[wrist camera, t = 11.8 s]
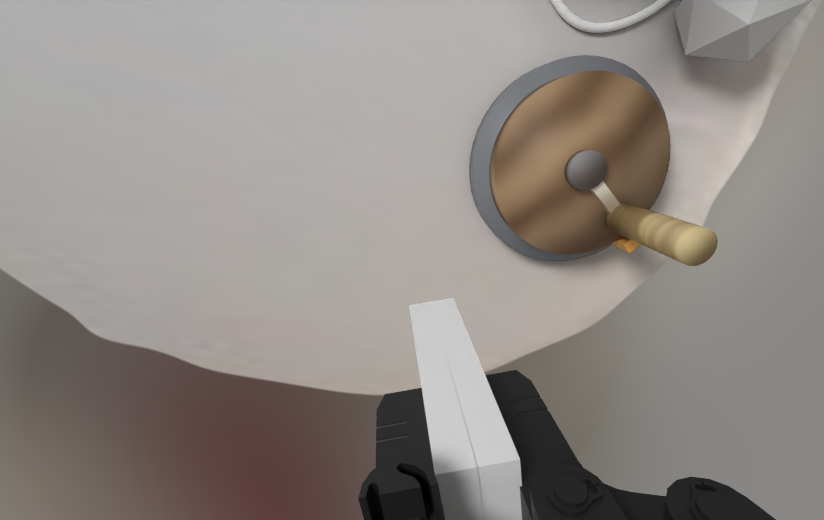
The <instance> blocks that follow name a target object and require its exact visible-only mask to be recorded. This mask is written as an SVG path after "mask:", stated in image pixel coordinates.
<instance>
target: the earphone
mask: <svg viewBox="0 0 824 520" xmlns="http://www.w3.org/2000/svg"><path fill="white" fill-rule="evenodd" d="M670 1H671V0H657V1H656V2H655V3H653V4H652V5H650V6H649V7H647V8H645V9H643V10H642V11H640V12H638V13H636V14H633V15H631V16H629V17H626V18H624V19H621V20H617V21H613V22H608V23H593V22H588V21H585V20H583V19H581V18H579V17H577V16H576V15H574V14H573V13H572V12H571V11H570V10H569V9H568V8H567V6H566V5H565V4H564V2H563V1H562V0H551V2H552V4H553V6H554V8H555V9H556V11H557V12H558V13H559V15H560V16H561V17H562V18H563V19H564V20H565V21H566V22H567V23H569V24H570V25H572V26H573V27H575V28H577V29H579V30H582V31H586V32H592V33H604V32H611V31H615V30H619V29H622V28H625V27H628V26H630V25H633V24H635V23H637V22H639V21H641V20H643V19H645V18H647V17H649V16H650V15H652V14H654V13H655V12H657V11H658V10H660V9H661V8H662V7H664V6H665V5H666V4H667V3H668V2H670Z"/></svg>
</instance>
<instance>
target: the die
mask: <svg viewBox="0 0 824 520" xmlns="http://www.w3.org/2000/svg"><path fill="white" fill-rule="evenodd" d="M810 1H811V0H682V1H681V3H680V4H679V5H678V7H677V8H676V9H675V10H674V15H675V18H676V22H677V26H678V30H679V34H680V37H681V41H682V45H683V49H684V52H685V55H690V56H699V57H708V58H717V59H726V60H736V61H745V62H749V61H750V60H751V59H752V58H753V57H754V56H755V55H756V54H757V53H758V52H759V51H760V50H761V49H762V48H763V47H764V46H765V45H767V44H768V43H769V42H770V41H771V40H772V39H773V38H774V37H775V36H776V35H777V34H778V33H779V32H780V31H781V30H782V29H783V28H784V27H785V26H786V25H787V24H788V23H789V22H790V21H791V20H792V19H793V18H794V17H795V16H796V15H797V14H798V13H799V12H800V11H801V10H802V9H803V8H804V7H805V6H806V5H807V4H808V3H809V2H810Z"/></svg>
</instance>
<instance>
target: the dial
mask: <svg viewBox="0 0 824 520" xmlns="http://www.w3.org/2000/svg"><path fill="white" fill-rule="evenodd" d="M669 160H670V135H669V130H668V126H667V122H666V119H665V117H664V114H663V112H662V110H661V108H660V106H659V104H658V103H657V101H656V100H655V99H654V97H653V96H652V95H651V93H649V92H648V91H647V90H646V89H645V88H644V87H643V86H642V85H640V84H639V83H637V82H636V81H634V80H633V79H631V78H629V77H626V76H624V75H622V74H618V73H614V72H610V71H601V70H596V71H584V72H578V73H574V74H570V75H566V76H563V77H560V78H557V79H554V80H552V81H550V82H548V83H546V84H544V85H541V86H540V87H538V88H537V89H535V90H534V91H532V92H531V93H530V94H529V95H527V96H526V97H525V98H524V99H523V100H522V101H521V102H520V103H519V104H518V105H517V106H516V107H515V108H514V109H513V110H512V112H511V113H510V115H509V116H508V117H507V119H506V120H505V122H504V124H503V125H502V127H501V129H500V131H499V133H498V136H497V138H496V140H495V143H494V146H493V150H492V154H491V160H490V166H489V180H490V189H491V193H492V198H493V201H494V203H495V206H496V208H497V210H498V212H499V214H500V216H501V217H502V219H503V220H504V222H505V223H506V224H507V225H508V227H510V228H511V229H512V230H513V231H514V232H515V233H516V234H517V235H518V236H520V237H521V238H522V239H524V240H525V241H526V242H528V243H529V244H531V245H533V246H535V247H537V248H539V249H541V250H544V251H547V252H551V253H557V254H581V253H586V252H591V251H594V250H597V249H600V248H603V247H605V246H607V245H609V244H611V243H613V242H615V241H616V240H618V239H620V238H621V237H623V236H624V237H626V238H629V239H631V240H633V241H635V242H637V243H640V244H642V245H644V246H646V247H648V248H651V249H653V250H655V251H657V252H659V253H662V254H664V255H666V256H668V257H670V258H673V259H675V260H677V261H679V262H681V263H684V264H686V265H689V266H697V265H700V264H702V263H704V262H706V261H707V260H708V259H709V258H710V257H711V256H712V255H713V254H714V252H715V250H716V247H717V237H716V234H715V233H714V232H713V231H712V230H710V229H708V228H705V227H702V226H699V225H695V224H692V223H689V222H686V221H683V220H679V219H676V218H673V217H670V216H667V215H664V214H660V213H657V212H654V211H651V210H650V208H651V207H652V205H653V204H654V202H655V200H656V199H657V197H658V195H659V193H660V191H661V189H662V186H663V184H664V181H665V178H666V174H667V171H668V166H669Z"/></svg>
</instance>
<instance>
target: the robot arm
mask: <svg viewBox="0 0 824 520" xmlns="http://www.w3.org/2000/svg"><path fill="white" fill-rule="evenodd" d="M409 308H410V315H411V321H412V328H413V334H414V341H415V348H416V354H417V361H418V367H419V374H420V381H421V387H422V388H418V389H412V390H407V391H401V392H395V393H390V394H385V395H384V397H383V399H382V401H381V403H380V405H379V407H378V408H377V430H376V441H377V443H376V468H375V469H374V470H373V471H371V472H370V474H369V475H368V477H367V478H366V480H365V481H364V482H363V484H362V487H361V491H360V495H359V498H358V499H359V502H360V506H361V509H362V513H363V517H364V520H775V519H774V518H773V517H772V516H770V515H769V514H768V513H766V512H765V511H764V510H763V509H761V508H760V507H759V506H757V505H756V504H755V503H753V502H752V501H751V500H749V499H748V498H747V497H745V496H744V495H742V494H740V493H739V492H737V491H735V490H734V489H732V488H730V487H729V486H727V485H724V484H721V483H718V482H716V481H713V480H710V479H705V478H696V477H688V478H684V479H679V480H676V481H675V482H674V483H673V484H672V485H671V486H670V487H669V488H668V489H667V495H666V496H658V495H650V494H641V493H634V492H628V491H623V490H619V489H615V488H613V487H611V486H608V485H606V484H604V483H602V482H601V480H600V479H599V478H598V477H597V476H595V475H594V474H592V473H591V472H589V471H588V470H586V469H584V468H583V467H582V465H581V464H580V463H579V461H578V460H577V458H576V457H575V455H574V453H573V452H572V450H571V448H570V446H569V445H568V443H567V441H566V440H565V438H564V436H563V434H562V433H561V431H560V430H559V428H558V426H557V424H556V423H555V421H554V419H553V418H552V416H551V414H550V412H549V411H548V410H547V407H546V405H545V404H544V402H543V400H542V399H541V398H540V395H539V393H538V392H537V390H536V389H535V387H534V385H533V383H532V382H531V380H529V379H528V378H526V377H525V376H523V375H522V374H521V373H520V372H518V371H517V370H514V371H508V372H502V373H496V374H491V375H485V374H484V371H483V369H482V366H481V364H480V361H479V359H478V357H477V354H476V352H475V349H474V347H473V345H472V342H471V340H470V337H469V335H468V333H467V330H466V328H465V325H464V323H463V320H462V318H461V316H460V313H459V311H458V308H457V306H456V304H455V301H454V299H453V298H449V299H443V300H437V301H431V302H426V303H420V304H414V305H409Z"/></svg>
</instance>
